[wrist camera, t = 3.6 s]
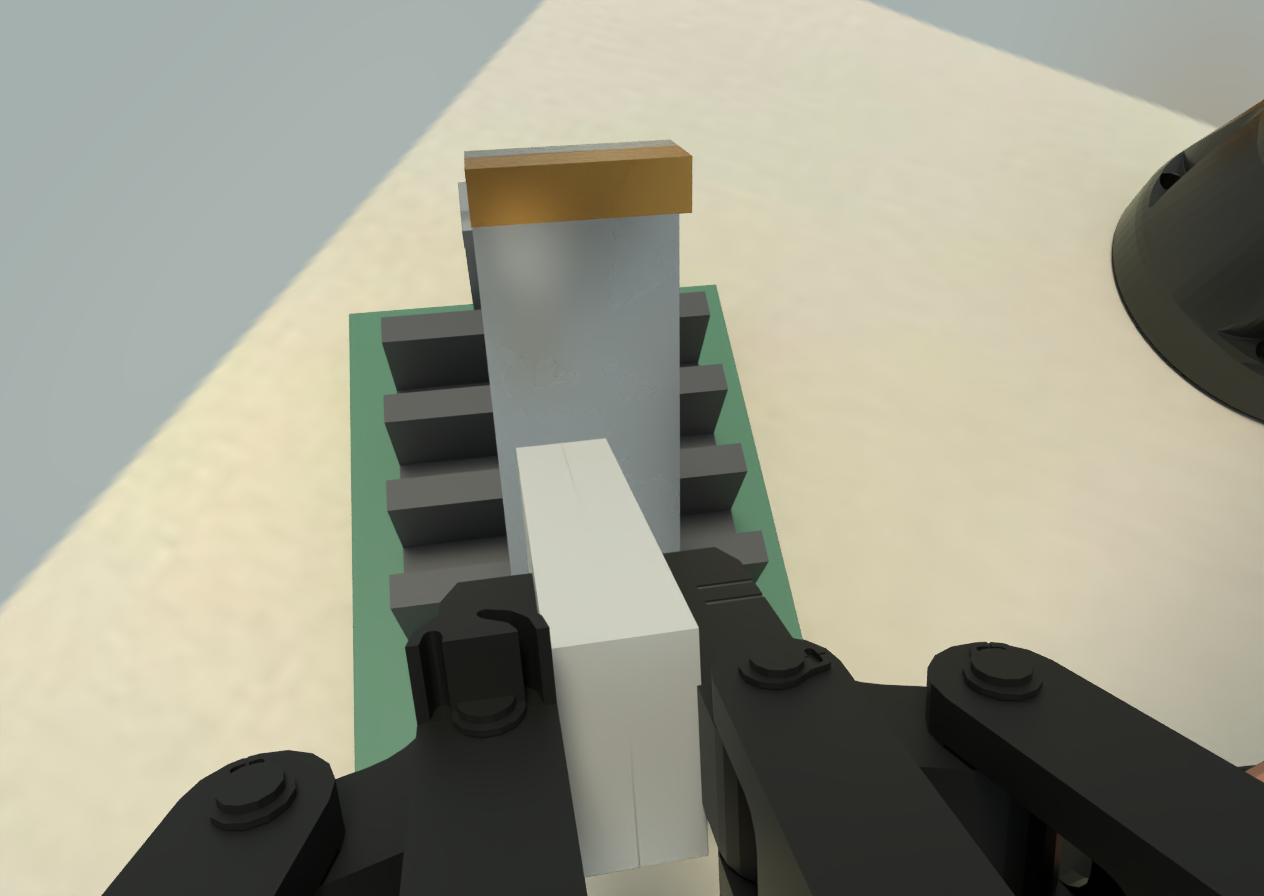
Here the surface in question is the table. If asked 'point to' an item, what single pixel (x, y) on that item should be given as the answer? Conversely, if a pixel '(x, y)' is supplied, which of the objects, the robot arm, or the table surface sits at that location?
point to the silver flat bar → (584, 311)
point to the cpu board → (471, 486)
